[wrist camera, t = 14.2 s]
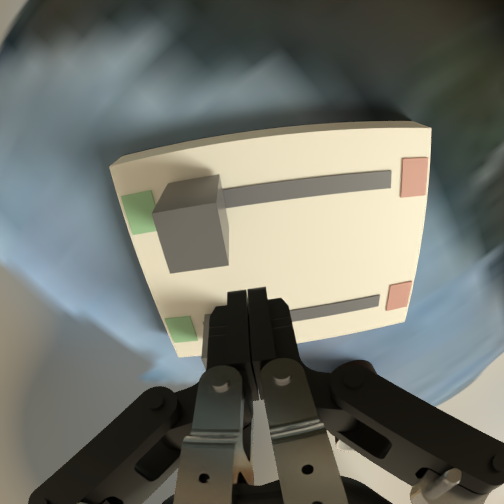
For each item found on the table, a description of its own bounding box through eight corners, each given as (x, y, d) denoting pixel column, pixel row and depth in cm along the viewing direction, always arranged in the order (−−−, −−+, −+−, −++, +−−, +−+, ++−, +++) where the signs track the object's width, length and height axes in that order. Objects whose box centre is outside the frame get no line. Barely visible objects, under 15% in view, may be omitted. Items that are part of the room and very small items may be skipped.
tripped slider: (219, 174, 21) (216, 202, 16) (229, 226, 23) (228, 265, 18) (167, 183, 21) (151, 213, 16) (180, 234, 23) (169, 273, 19)
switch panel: (412, 121, 22) (432, 128, 20) (394, 303, 33) (405, 322, 30) (122, 156, 23) (108, 167, 20) (181, 336, 33) (178, 358, 30)
